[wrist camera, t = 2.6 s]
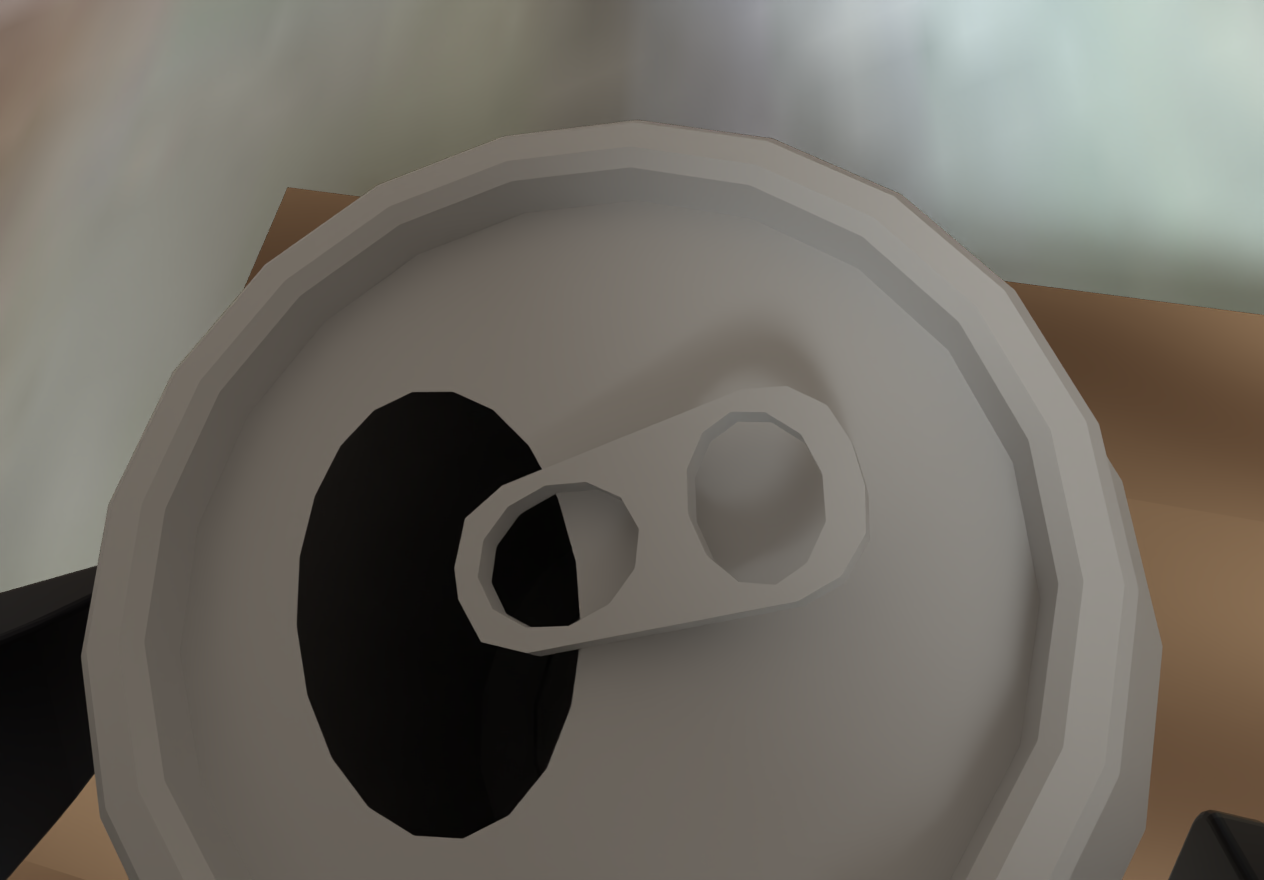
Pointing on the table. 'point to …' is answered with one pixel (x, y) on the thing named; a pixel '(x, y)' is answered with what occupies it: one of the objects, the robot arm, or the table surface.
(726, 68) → the table surface
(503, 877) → the can
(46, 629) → the robot arm
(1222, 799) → the pocket board
